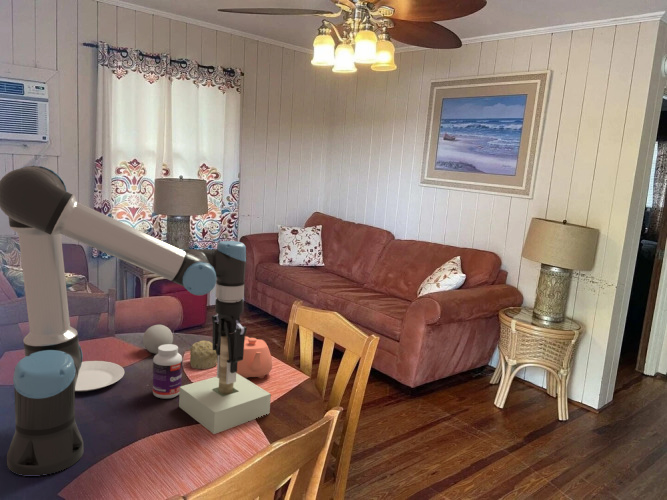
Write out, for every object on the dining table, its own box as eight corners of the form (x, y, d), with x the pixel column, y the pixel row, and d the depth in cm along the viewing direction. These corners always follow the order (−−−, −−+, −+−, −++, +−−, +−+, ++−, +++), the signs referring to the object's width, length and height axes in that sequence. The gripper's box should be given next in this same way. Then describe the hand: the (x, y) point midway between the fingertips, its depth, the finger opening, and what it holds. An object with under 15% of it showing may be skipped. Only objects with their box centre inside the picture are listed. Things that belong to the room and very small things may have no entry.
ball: (178, 353, 181) (179, 326, 179) (153, 360, 173) (153, 332, 171) (162, 345, 187) (162, 318, 185) (136, 351, 179) (137, 324, 177)
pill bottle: (172, 402, 146) (174, 354, 144) (146, 397, 148) (147, 350, 145) (186, 390, 154) (187, 344, 151) (161, 385, 155) (162, 340, 153)
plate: (44, 401, 141) (44, 394, 141) (50, 370, 160) (50, 363, 159) (125, 393, 150) (125, 385, 149) (122, 364, 168) (123, 358, 168)
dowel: (223, 396, 140) (226, 340, 138) (215, 390, 143) (217, 336, 140) (236, 392, 143) (238, 337, 140) (227, 386, 146) (230, 333, 143)
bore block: (213, 434, 132) (214, 412, 131) (179, 406, 144) (179, 386, 143) (269, 413, 144) (270, 393, 143) (233, 390, 157) (234, 371, 156)
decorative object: (218, 376, 173) (228, 348, 177) (200, 368, 165) (211, 338, 169) (197, 371, 178) (207, 344, 181) (179, 363, 170) (190, 334, 173)
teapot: (236, 390, 157) (238, 352, 155) (225, 364, 175) (226, 330, 173) (278, 386, 162) (281, 349, 160) (263, 361, 180) (265, 328, 178)
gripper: (260, 304, 135) (255, 387, 139) (224, 289, 147) (220, 366, 151) (236, 308, 130) (232, 394, 134) (200, 292, 142) (198, 372, 146)
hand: (226, 379), depth 143 cm, fingers closed on dowel, 4 cm apart
